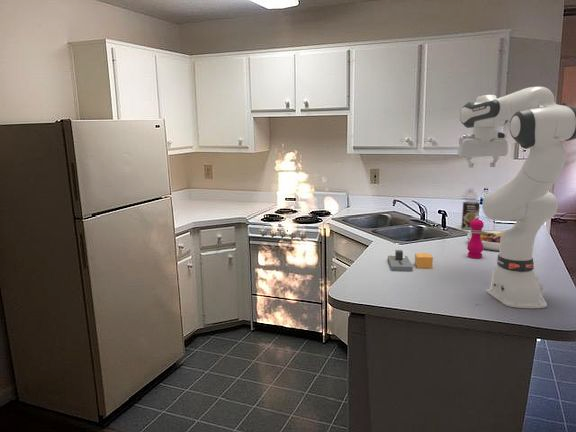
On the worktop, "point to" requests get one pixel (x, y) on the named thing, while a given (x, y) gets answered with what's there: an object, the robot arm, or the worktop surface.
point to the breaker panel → (400, 264)
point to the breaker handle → (399, 254)
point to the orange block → (423, 260)
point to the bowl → (489, 239)
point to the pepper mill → (475, 239)
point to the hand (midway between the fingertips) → (481, 167)
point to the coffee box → (469, 214)
